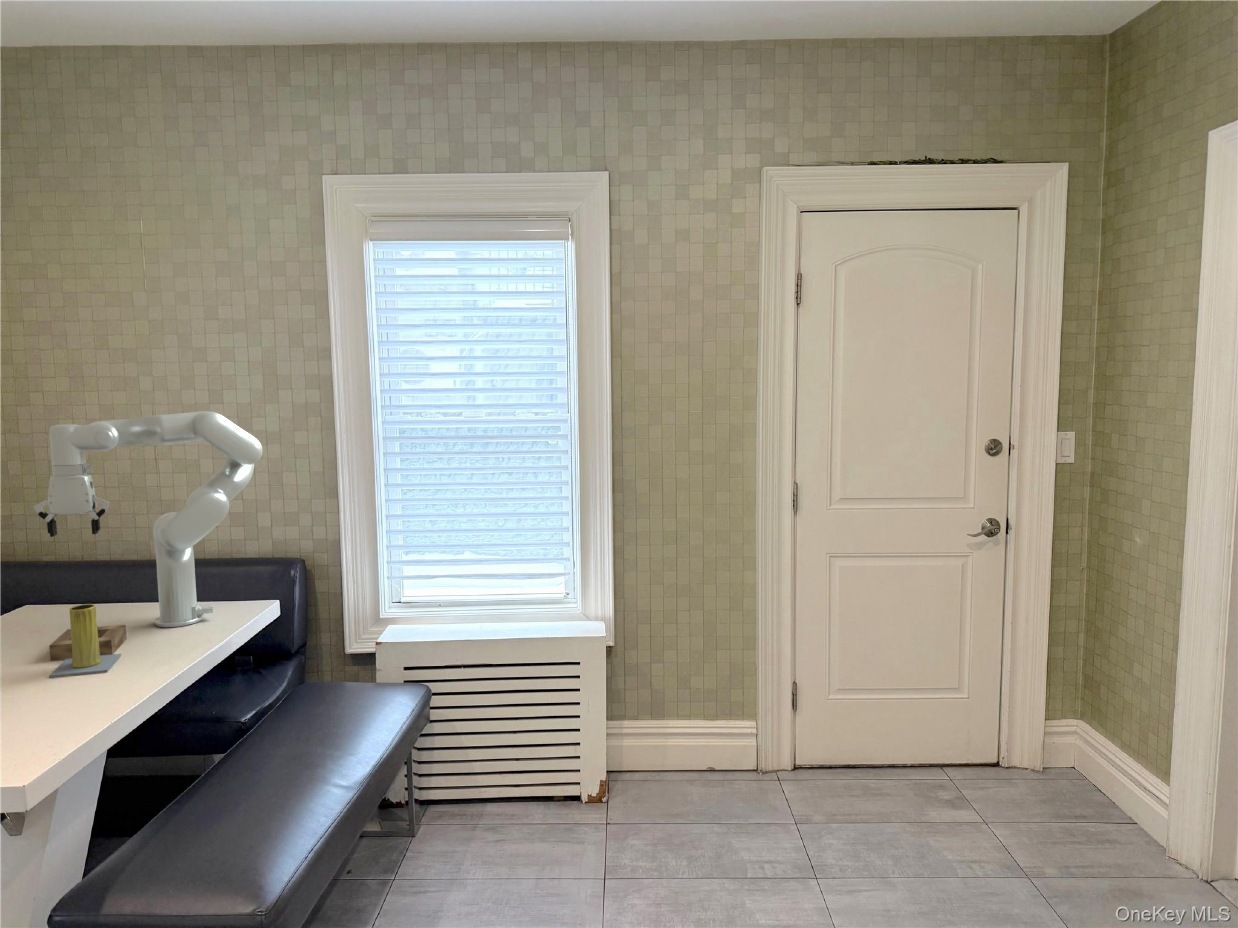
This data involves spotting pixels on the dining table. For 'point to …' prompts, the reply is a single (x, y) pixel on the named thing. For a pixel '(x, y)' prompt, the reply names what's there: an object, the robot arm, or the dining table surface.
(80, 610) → the vase
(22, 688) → the dining table surface
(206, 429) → the robot arm
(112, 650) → the collar
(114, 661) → the mat
